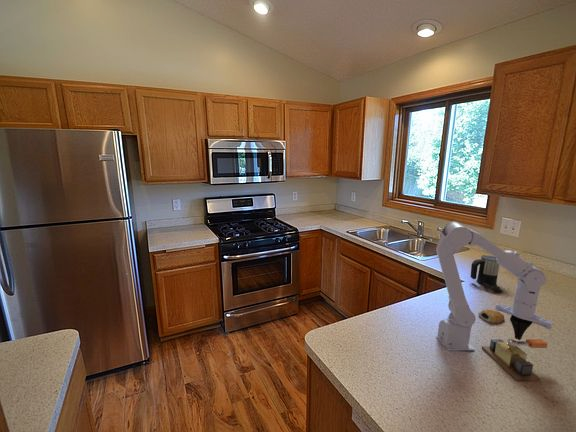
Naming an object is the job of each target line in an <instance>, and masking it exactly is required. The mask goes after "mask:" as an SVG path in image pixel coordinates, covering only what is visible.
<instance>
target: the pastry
mask: <svg viewBox="0 0 576 432" xmlns="http://www.w3.org/2000/svg"><path fill="white" fill-rule="evenodd" d="M478 317H479V318H481V320H484V321H486V322H488V323H491V324H496V323H497V324H498V323H501V322H503V321H504V320H505V315H504V314H502V312H501V311H497V310H492V309H482V310H481V311H480V312H478Z"/></svg>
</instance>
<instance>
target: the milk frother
mask: <svg viewBox="0 0 576 432" xmlns="http://www.w3.org/2000/svg"><path fill="white" fill-rule="evenodd" d="M478 266H479V267H478ZM470 267H471V269H470V278H471V279H472V280H476V282H477V283H478V284H480V285H482V286H486V287H489V288H491V289H492V290H494V291H495V292H496V293H499V292H502V290H503V289H502V288H501V287H500V286H498V285H497V284H498V283H497V282H498V275H499V271H500V267H501V266H500V265H499V264H498V263H497V259H496V257H495V256H493V255H487V254H486V255H480V259H475V260H473V261H472V263H471V266H470ZM478 268H479V269H478ZM477 273H478V274H477Z"/></svg>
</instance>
